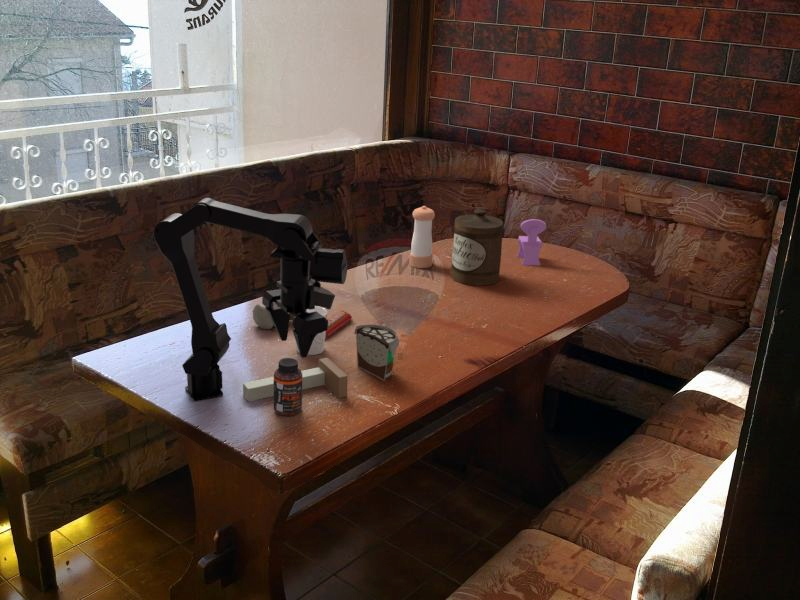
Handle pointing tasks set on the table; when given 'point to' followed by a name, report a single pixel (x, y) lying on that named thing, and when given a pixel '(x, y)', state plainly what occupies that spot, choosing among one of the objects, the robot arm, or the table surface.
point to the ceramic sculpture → (263, 317)
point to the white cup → (319, 339)
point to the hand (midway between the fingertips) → (293, 348)
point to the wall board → (303, 381)
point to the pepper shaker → (422, 238)
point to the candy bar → (337, 322)
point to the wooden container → (477, 249)
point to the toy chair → (531, 241)
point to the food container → (376, 349)
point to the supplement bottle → (287, 388)
